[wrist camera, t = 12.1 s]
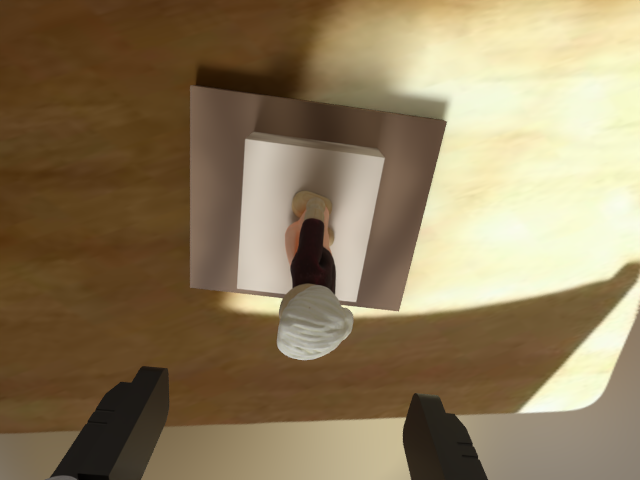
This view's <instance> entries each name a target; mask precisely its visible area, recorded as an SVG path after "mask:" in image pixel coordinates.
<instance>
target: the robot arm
mask: <svg viewBox="0 0 640 480" xmlns="http://www.w3.org/2000/svg"><path fill="white" fill-rule="evenodd" d="M168 410H169V378H168V369H167V368H157V367H147V366H142V367H141V368H140V370H139V371H138V373H137V374H136V376H135V378H134V379H133V381H132V383H128V382H120V383H119V384H118V385H116V386H115V387H114V388H113V389H111V390H110V391H109V392H107V393H106V394H105V396H104V397H103V399H102V400H101V402H100V403H99V405H98V406H97V408H96V411H95V412H93V414H92V415H91V417H90V418H89V420H88V423H87V424H85V426H84V427H83V429H82V431H81V432H80V434H79V435H78V437H77V438H76V440H75V441H74V443H73V444H72V446H71V447H70V449H69V450H68V452H67V453H66V455H65V456H64V458H63V459H62V461H61V462H60V464H59V465H58V467H57V468H56V470H55V471H54V473H53V474H52V475H51V477H50V478H48V479H45V480H141V478H142V476H143V474H144V471H145V469H146V467H147V464H148V462H149V460H150V457H151V455H152V453H153V450H154V448H155V446H156V443H157V441H158V439H159V437H160V434H161V432H162V430H163V427H164V425H165V422H166V419H167V415H168ZM472 444H473V443H472V441H471V439H470V436H469V434H468V431H467V429H466V427H465V426H464V425H463V424H462V423H461V422H460V420H459V419H458V418H457V417H456V416H455V414H449V413H446V412H445V410H444V407H443V405H442V402H441V399H440V398H439V396H437V395H428V394H418V393H415V394H414V395H413V397H412V400H411V404H410V407H409V410H408V414H407V417H406V421H405V424H404V428H403V445H404V449H405V454H406V458H407V462H408V467H409V471H410V476H411V480H488V479H487V476H486V474H485V472H484V469H483V467H482V464H481V462H480V460H478V455H477V453H476V450H475V448H474V447H473V445H472Z"/></svg>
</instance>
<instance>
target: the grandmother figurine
mask: <svg viewBox="0 0 640 480" xmlns="http://www.w3.org/2000/svg"><path fill="white" fill-rule="evenodd" d="M292 211H293V213H294V214H295V215H296V216H297V217H298V218H300V219H299V220H298V221H296V222H294V223H292V224H291V225H289V226H288V228H287V230H286V232H285V249H286V254H287V258H288V261H289V265H290V271H291V276H292V289H291V290H290V291H289V292H288V293H287V294H286V295H285V296H284V298H283V300H282V302H281V305H280V309H279V318H280V324H279V328H278V336H277V346H278V348H279V350H280V351H281V352H282V353H284V354H285V355H287V356H288V357H291V358H295V359H299V360H310V359H315V358H318V357H321V356H323V355H326V354H327V353H329V352H331V351H332V350H334V349H335V348H336V347H337V346H338V345H339V344H340V343H341V341H342V340H344V339H346V338H347V336H348V335H349V334H350V333H351V331H352V325H353V314H352V312H351V311H350V310H349V309H347V308H343V307H341V305H340V302H339V299H338V298H337V297H336V296H335V288H336V267H335V263H334V259H333V257H332V253H331V250H330V246H331V245H332V244H333V243H334V233H333V231H332V230H331V229H330V228H329V227H328V222H329V216H330V214H331V211H332V203H331V201H330V200H329V199H328V198H326V197H323V196H320V195H318V194H315V193H312V192H309V191H301V192H299V193H297V194H296V195H295V196H294V198H293V200H292Z"/></svg>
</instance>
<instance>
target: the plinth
mask: <svg viewBox="0 0 640 480" xmlns="http://www.w3.org/2000/svg"><path fill="white" fill-rule="evenodd" d="M446 123H447V122H446V121H444V120H440V119H433V118H426V117H418V116H411V115H404V114H397V113H390V112H383V111H376V110H369V109H362V108H355V107H348V106H341V105H334V104H326V103H319V102H312V101H305V100H298V99H291V98H284V97H277V96H270V95H263V94H256V93H249V92H242V91H234V90H227V89H220V88H213V87H206V86H199V85H190V288H199V289H208V290H216V291H225V292H234V293H243V294H252V295H260V296H269V297H278V298H284V296H285V295H286V294H287V293H288V292H289V291H290V290H291V289H292V276H291V271H290V265H289V261H288V258H287V254H286V249H285V232H286V230H287V228H288V226H289V225H291V224H292V223H294V222H296V221H298V220H299V219H300V218H298V217H297V216H296V215H295V214H294V213H293V211H292V200H293V198H294V196H295V195H296V194H297V193H299V192H301V191H309V192H312V193H315V194H318V195H320V196H323V197H326V198H328V199H329V200H330V201H331V203H332V211H331V214H330V216H329V222H328V227H329V228H330V229H331V230H332V231H333V233H334V243H333V244H332V245H331V246H330V250H331V253H332V257H333V259H334V263H335V267H336V288H335V296H336V297H337V298H338V299H339V302H340V305H348V306H357V307H366V308H374V309H383V310H392V311H399V309H400V305H401V301H402V297H403V293H404V289H405V285H406V281H407V277H408V273H409V269H410V265H411V261H412V257H413V253H414V249H415V245H416V242H417V238H418V234H419V230H420V226H421V222H422V218H423V214H424V210H425V206H426V202H427V198H428V194H429V190H430V186H431V182H432V178H433V174H434V170H435V166H436V162H437V159H438V155H439V151H440V147H441V143H442V139H443V135H444V131H445V127H446Z"/></svg>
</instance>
